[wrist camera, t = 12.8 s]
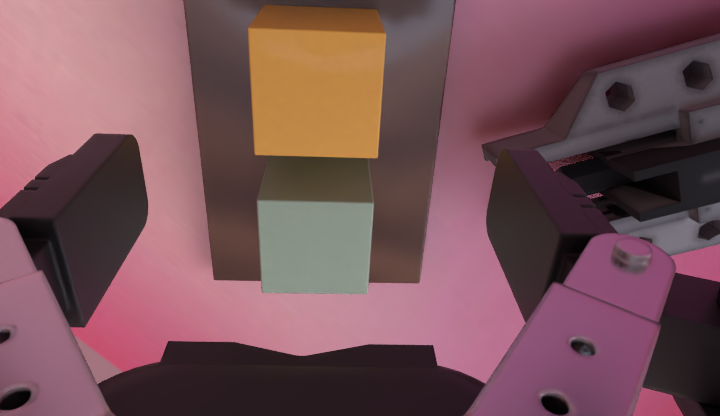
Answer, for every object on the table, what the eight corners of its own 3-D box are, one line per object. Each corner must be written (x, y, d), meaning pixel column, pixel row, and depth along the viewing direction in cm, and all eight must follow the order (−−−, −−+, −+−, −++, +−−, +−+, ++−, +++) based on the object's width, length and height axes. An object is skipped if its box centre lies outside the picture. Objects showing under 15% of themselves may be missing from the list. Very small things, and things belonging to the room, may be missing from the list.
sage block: (269, 152, 25) (256, 200, 21) (368, 155, 25) (374, 203, 21) (272, 236, 27) (261, 293, 23) (363, 237, 27) (367, 295, 23)
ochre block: (268, 113, 24) (254, 155, 20) (263, 4, 22) (247, 27, 18) (371, 116, 24) (377, 159, 20) (377, 9, 22) (386, 33, 18)
